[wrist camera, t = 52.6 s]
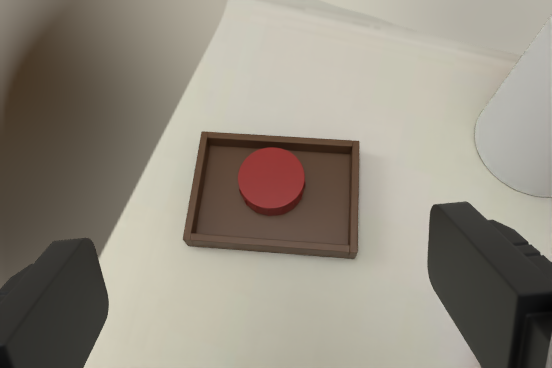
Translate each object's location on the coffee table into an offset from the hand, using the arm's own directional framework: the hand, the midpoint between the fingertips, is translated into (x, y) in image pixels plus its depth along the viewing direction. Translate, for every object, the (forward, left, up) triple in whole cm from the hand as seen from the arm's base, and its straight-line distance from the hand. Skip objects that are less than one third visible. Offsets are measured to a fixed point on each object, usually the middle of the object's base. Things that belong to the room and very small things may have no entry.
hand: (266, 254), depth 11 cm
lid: (-2, +12, -24) cm, 27 cm away
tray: (-2, +12, -26) cm, 28 cm away
